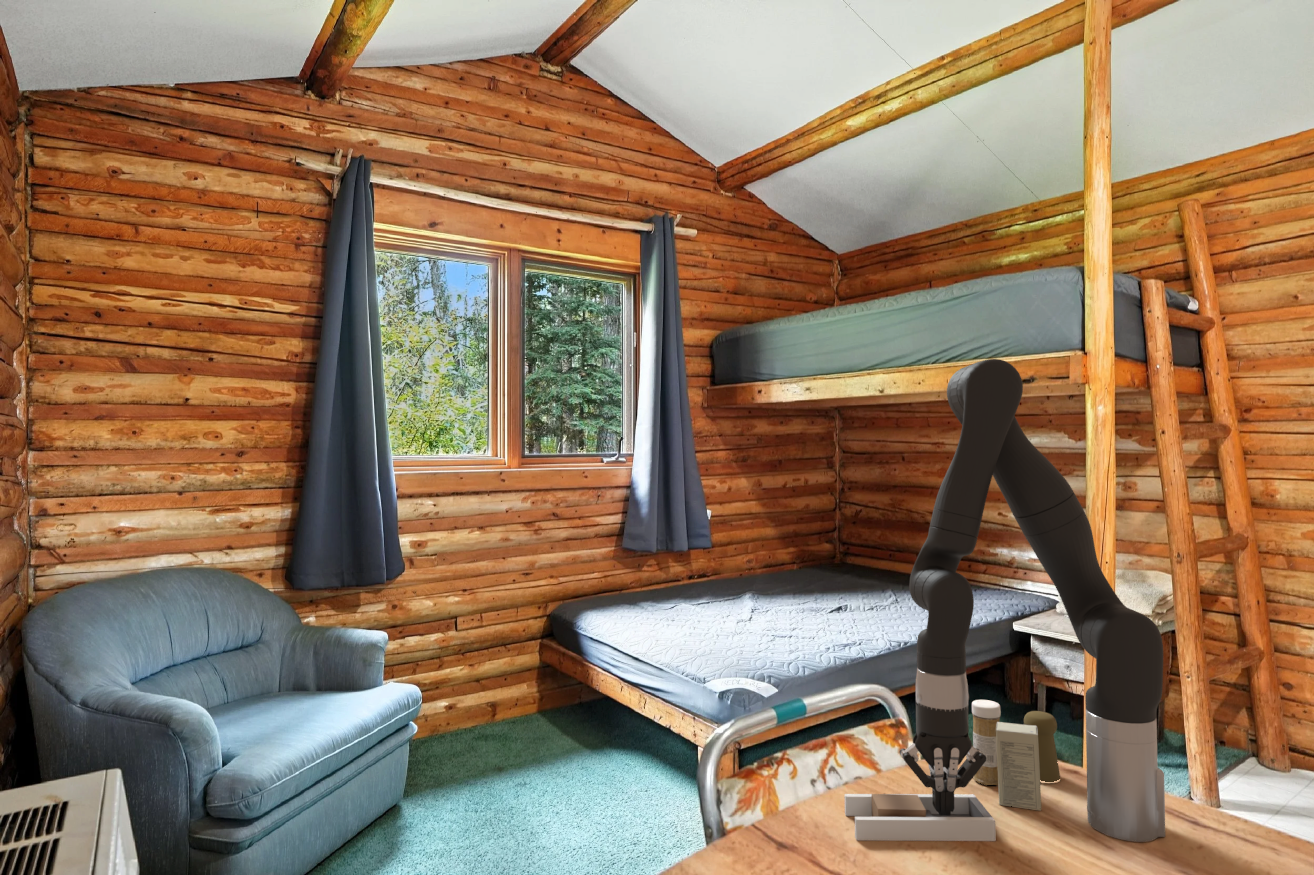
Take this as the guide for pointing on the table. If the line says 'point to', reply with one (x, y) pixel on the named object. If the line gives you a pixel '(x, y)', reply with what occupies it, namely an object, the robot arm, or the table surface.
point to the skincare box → (1018, 765)
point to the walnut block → (897, 806)
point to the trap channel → (923, 821)
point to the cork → (1045, 744)
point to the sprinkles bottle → (986, 738)
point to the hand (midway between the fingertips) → (943, 812)
